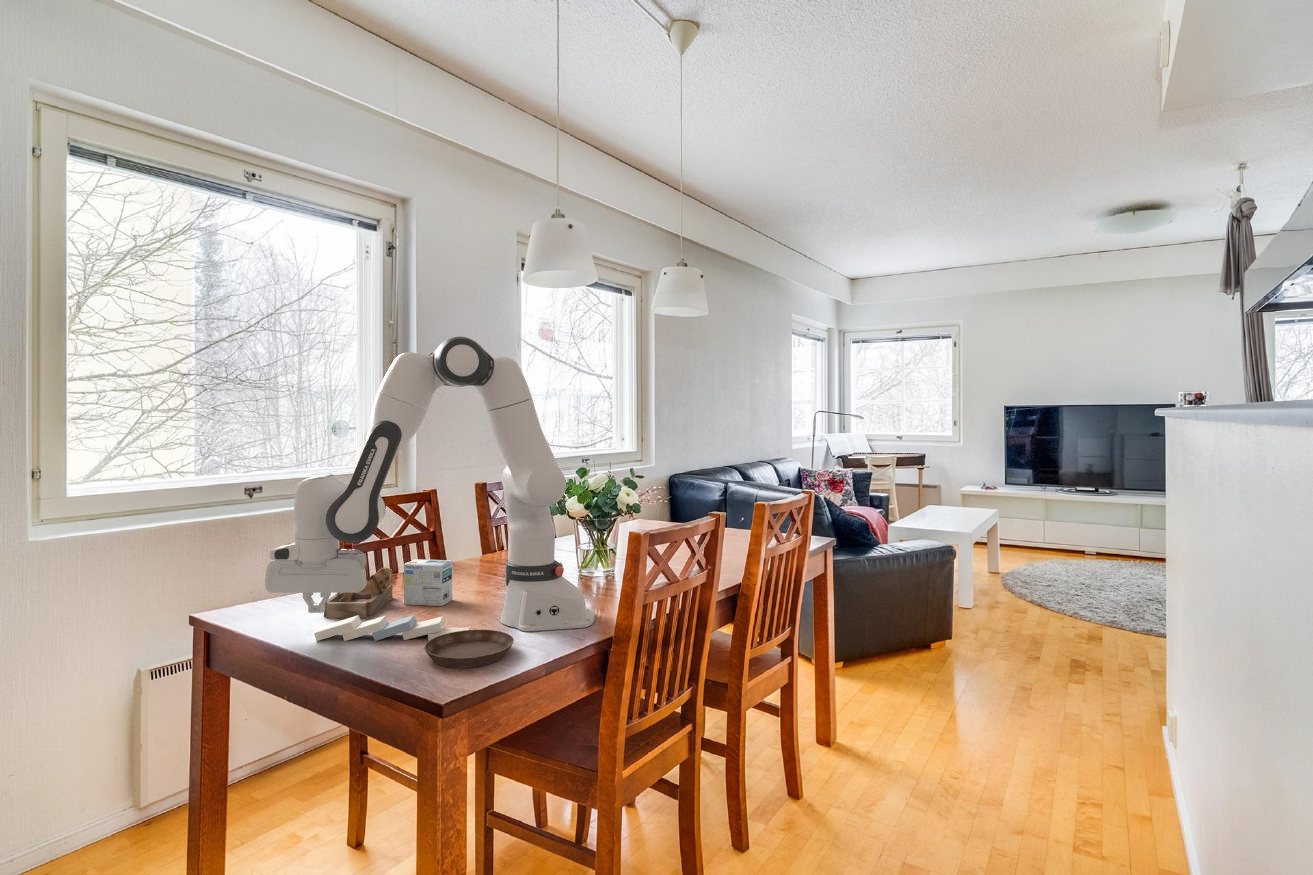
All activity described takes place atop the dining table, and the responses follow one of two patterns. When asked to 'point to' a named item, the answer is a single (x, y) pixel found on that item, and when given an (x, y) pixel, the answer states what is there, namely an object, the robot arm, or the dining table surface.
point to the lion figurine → (373, 584)
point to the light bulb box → (428, 582)
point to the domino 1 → (337, 628)
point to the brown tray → (356, 605)
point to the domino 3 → (395, 627)
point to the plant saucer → (468, 648)
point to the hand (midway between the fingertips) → (316, 612)
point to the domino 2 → (366, 628)
